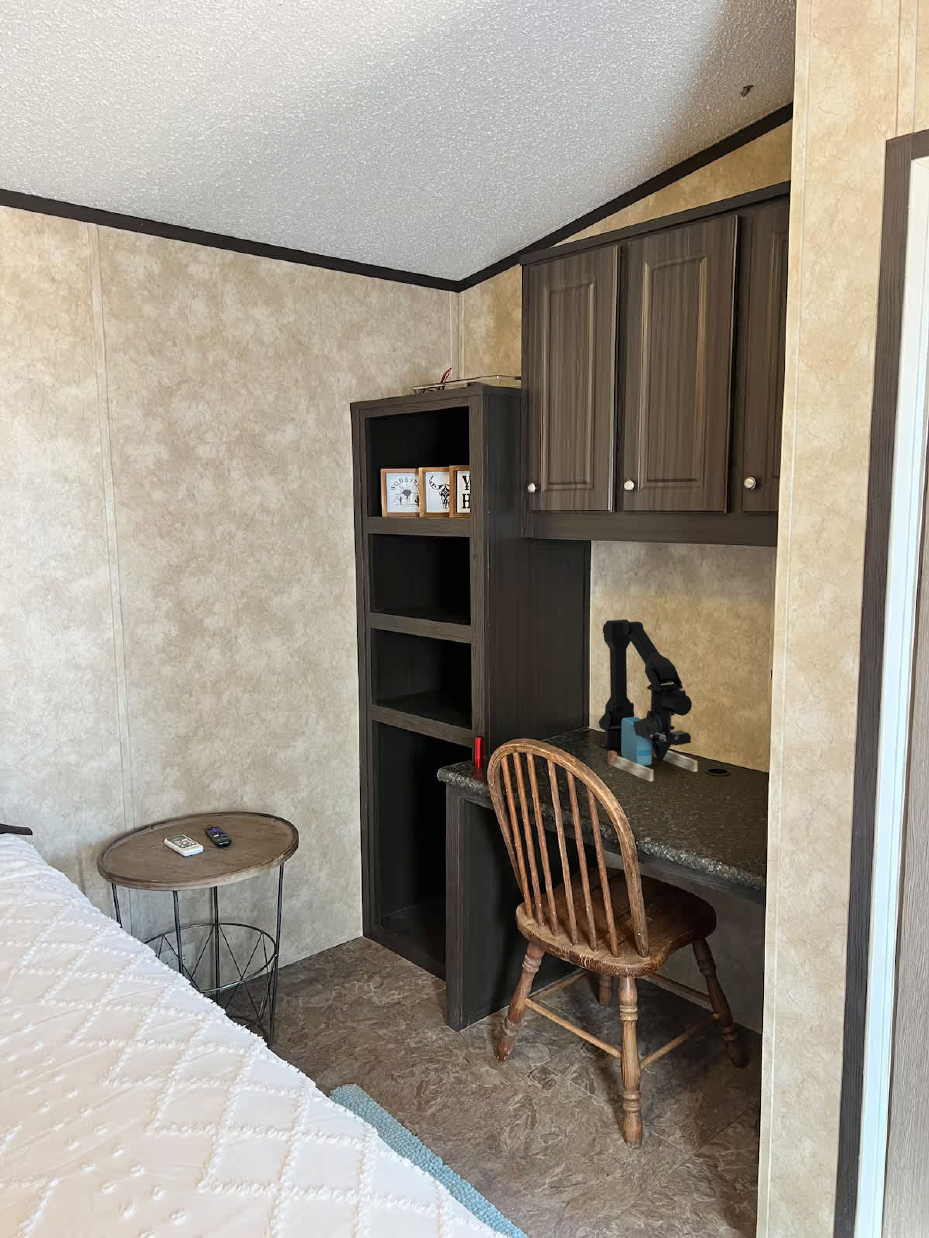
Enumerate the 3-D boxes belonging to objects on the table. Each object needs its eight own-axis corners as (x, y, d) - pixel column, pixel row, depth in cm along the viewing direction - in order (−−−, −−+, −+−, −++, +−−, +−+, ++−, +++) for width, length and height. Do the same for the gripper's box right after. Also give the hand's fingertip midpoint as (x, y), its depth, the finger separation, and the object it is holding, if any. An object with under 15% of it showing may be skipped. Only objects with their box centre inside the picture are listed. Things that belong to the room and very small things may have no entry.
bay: (607, 764, 268) (607, 751, 267) (655, 754, 277) (655, 742, 276) (648, 781, 252) (649, 768, 252) (698, 771, 261) (698, 758, 261)
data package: (651, 766, 265) (652, 725, 263) (637, 767, 264) (637, 727, 262) (635, 754, 277) (635, 715, 275) (620, 755, 276) (621, 716, 274)
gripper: (617, 704, 263) (616, 757, 265) (661, 718, 247) (660, 774, 249) (647, 700, 269) (646, 752, 271) (693, 713, 253) (691, 768, 255)
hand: (659, 761), depth 261 cm, fingers closed
